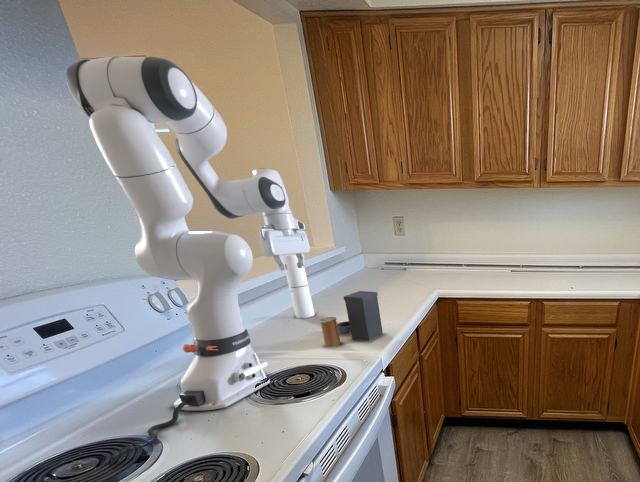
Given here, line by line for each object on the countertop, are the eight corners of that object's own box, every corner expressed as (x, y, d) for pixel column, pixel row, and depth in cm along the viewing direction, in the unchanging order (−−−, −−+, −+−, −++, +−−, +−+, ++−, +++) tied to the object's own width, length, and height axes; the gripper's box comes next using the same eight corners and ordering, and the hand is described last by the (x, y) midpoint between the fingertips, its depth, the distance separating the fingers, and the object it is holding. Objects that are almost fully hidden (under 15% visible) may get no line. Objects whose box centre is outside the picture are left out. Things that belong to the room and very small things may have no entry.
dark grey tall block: (369, 342, 140) (361, 297, 134) (351, 340, 143) (343, 296, 136) (383, 334, 147) (377, 291, 141) (366, 332, 150) (359, 290, 144)
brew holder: (353, 335, 148) (351, 327, 146) (333, 335, 148) (332, 327, 147) (361, 328, 154) (359, 321, 153) (342, 328, 155) (340, 321, 154)
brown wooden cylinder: (337, 347, 136) (331, 321, 132) (322, 347, 136) (316, 321, 133) (344, 342, 141) (339, 316, 137) (329, 342, 141) (323, 316, 138)
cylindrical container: (307, 318, 170) (293, 255, 160) (292, 317, 171) (277, 255, 161) (318, 313, 176) (305, 252, 166) (303, 313, 178) (289, 252, 168)
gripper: (267, 223, 123) (281, 270, 127) (307, 224, 142) (318, 265, 147) (249, 226, 124) (263, 273, 129) (291, 227, 144) (302, 267, 148)
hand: (293, 269), depth 138 cm, fingers open, 8 cm apart
